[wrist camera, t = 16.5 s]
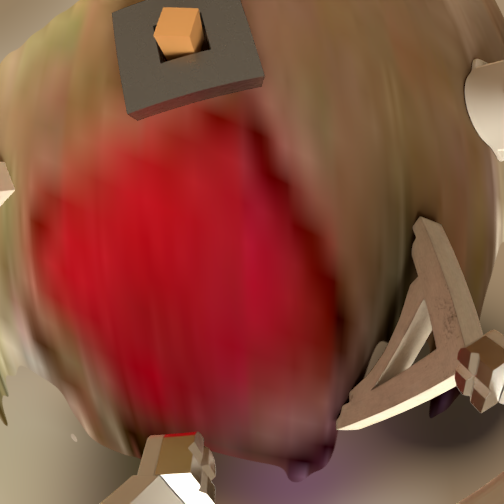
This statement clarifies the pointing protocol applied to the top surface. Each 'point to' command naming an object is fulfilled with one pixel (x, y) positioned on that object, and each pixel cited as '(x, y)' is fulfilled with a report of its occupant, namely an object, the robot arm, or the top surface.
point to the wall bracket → (419, 336)
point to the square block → (179, 32)
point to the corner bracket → (5, 183)
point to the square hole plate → (187, 67)
